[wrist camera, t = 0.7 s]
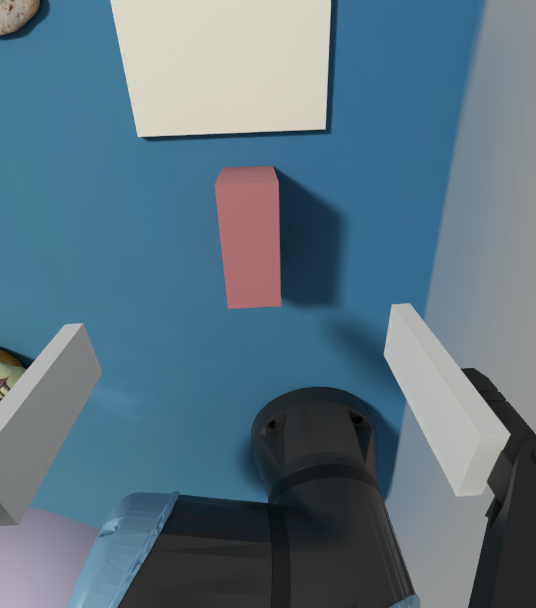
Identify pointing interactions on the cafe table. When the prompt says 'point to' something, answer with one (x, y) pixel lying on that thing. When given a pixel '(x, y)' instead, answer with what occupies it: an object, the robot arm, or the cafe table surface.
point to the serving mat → (225, 64)
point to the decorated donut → (9, 372)
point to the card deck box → (250, 235)
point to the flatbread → (16, 14)
